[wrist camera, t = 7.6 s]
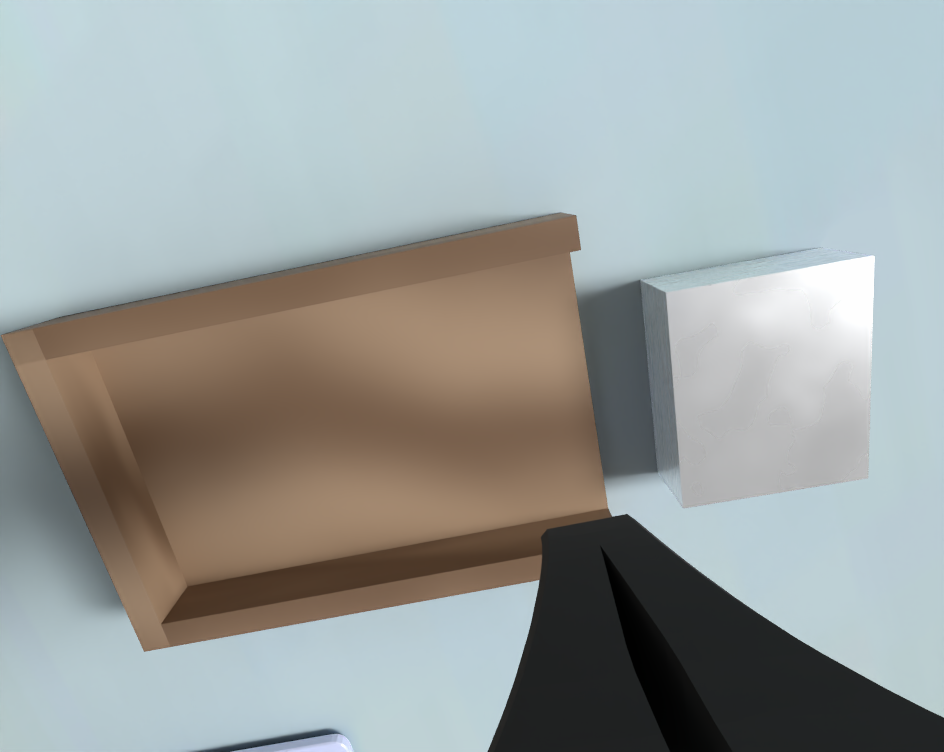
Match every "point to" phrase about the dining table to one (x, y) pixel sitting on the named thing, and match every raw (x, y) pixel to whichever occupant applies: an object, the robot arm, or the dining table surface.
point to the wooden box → (327, 431)
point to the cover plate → (761, 374)
